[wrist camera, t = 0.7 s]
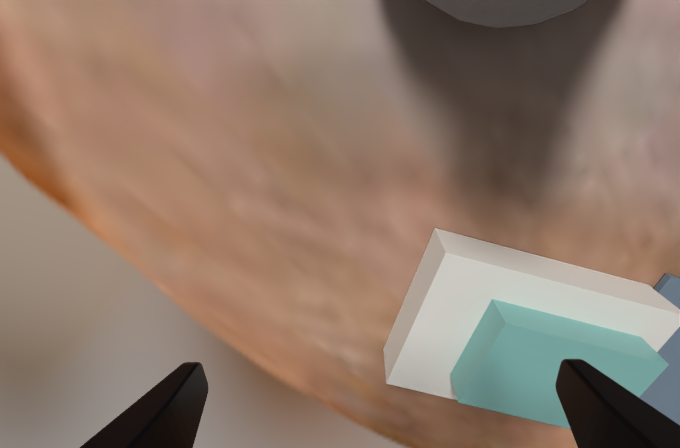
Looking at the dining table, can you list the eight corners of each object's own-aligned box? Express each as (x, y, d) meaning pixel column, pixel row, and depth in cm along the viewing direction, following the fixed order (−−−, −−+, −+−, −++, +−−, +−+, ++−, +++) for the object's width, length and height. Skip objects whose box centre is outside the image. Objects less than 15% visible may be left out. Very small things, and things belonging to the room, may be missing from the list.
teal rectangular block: (641, 336, 20) (669, 364, 18) (583, 406, 22) (602, 436, 21) (492, 298, 19) (505, 323, 18) (449, 374, 22) (458, 402, 20)
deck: (647, 284, 22) (688, 316, 19) (564, 392, 26) (587, 431, 23) (434, 227, 21) (445, 252, 18) (383, 348, 25) (386, 383, 23)
